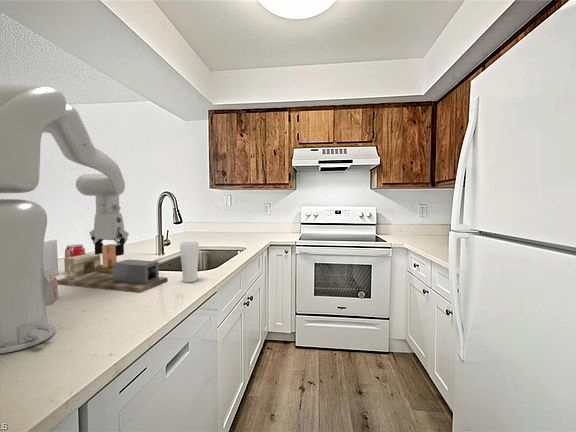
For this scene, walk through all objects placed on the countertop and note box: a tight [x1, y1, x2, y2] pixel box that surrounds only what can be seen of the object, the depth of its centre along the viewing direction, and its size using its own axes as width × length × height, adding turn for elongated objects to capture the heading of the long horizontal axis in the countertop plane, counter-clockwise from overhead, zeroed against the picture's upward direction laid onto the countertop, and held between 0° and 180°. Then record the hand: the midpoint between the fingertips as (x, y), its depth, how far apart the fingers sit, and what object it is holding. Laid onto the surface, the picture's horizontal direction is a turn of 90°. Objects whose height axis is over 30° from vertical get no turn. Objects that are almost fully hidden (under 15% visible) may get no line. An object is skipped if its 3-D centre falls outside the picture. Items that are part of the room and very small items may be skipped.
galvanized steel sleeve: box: [113, 259, 160, 285], centre depth 107 cm, size 14×7×7 cm, turn 75°
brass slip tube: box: [96, 243, 151, 276], centre depth 109 cm, size 22×4×11 cm, turn 75°
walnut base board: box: [57, 273, 168, 294], centre depth 110 cm, size 38×14×2 cm, turn 75°
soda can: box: [64, 243, 86, 258], centre depth 125 cm, size 7×7×12 cm
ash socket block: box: [63, 253, 102, 280], centre depth 114 cm, size 6×10×8 cm, turn 165°
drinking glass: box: [179, 241, 200, 283], centre depth 113 cm, size 7×7×15 cm
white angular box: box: [44, 268, 59, 306], centre depth 90 cm, size 4×7×10 cm, turn 24°
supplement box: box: [43, 238, 59, 276], centre depth 120 cm, size 9×9×15 cm
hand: (109, 254), depth 110 cm, fingers open, 9 cm apart
